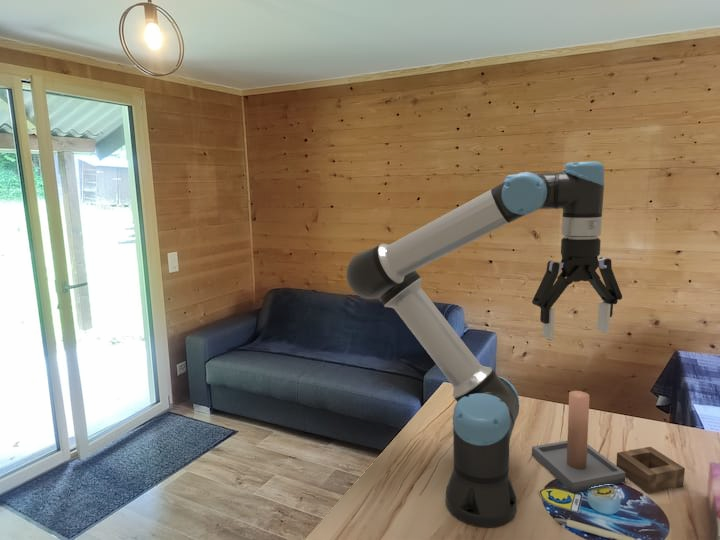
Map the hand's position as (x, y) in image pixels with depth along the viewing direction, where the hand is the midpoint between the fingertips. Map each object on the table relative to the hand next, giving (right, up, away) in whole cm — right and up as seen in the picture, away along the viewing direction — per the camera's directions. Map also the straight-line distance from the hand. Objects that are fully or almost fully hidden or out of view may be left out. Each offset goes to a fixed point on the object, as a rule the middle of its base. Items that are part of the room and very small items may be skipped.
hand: (575, 334), depth 104 cm
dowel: (+6, -33, +13) cm, 36 cm away
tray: (+6, -35, +14) cm, 38 cm away
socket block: (+21, -35, +9) cm, 42 cm away
